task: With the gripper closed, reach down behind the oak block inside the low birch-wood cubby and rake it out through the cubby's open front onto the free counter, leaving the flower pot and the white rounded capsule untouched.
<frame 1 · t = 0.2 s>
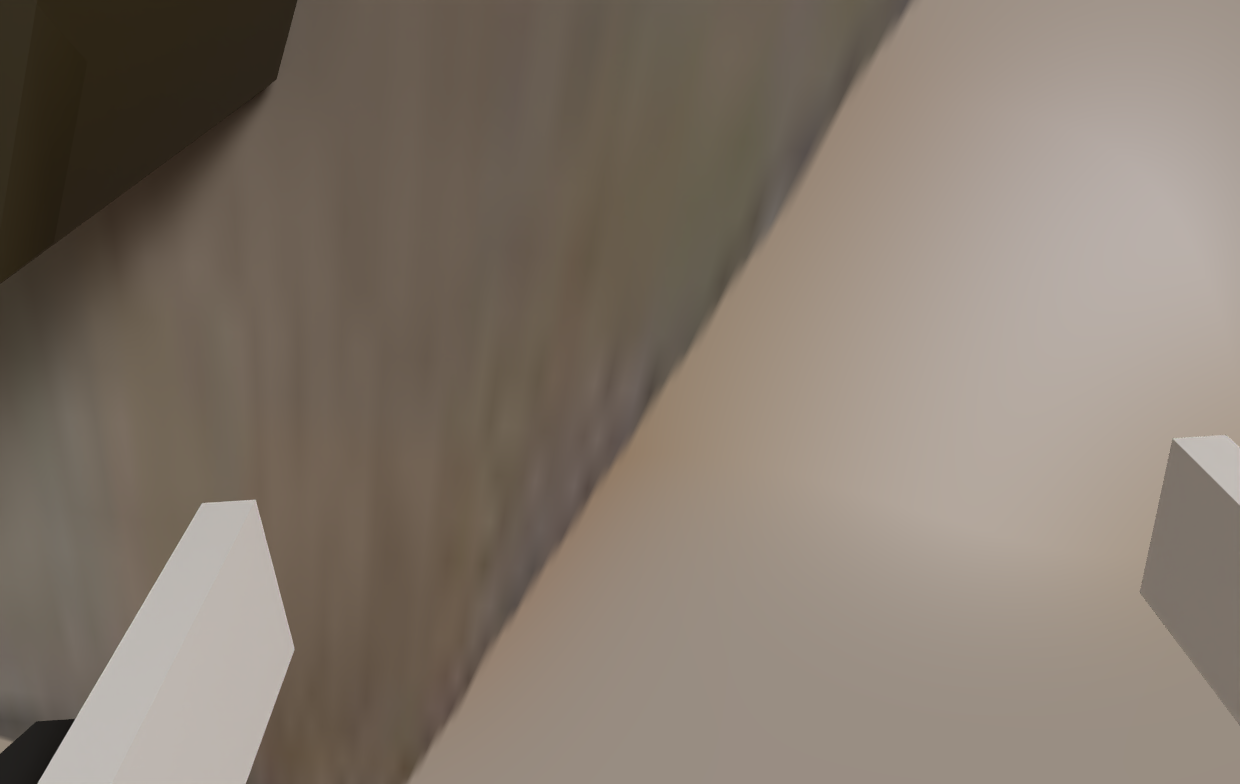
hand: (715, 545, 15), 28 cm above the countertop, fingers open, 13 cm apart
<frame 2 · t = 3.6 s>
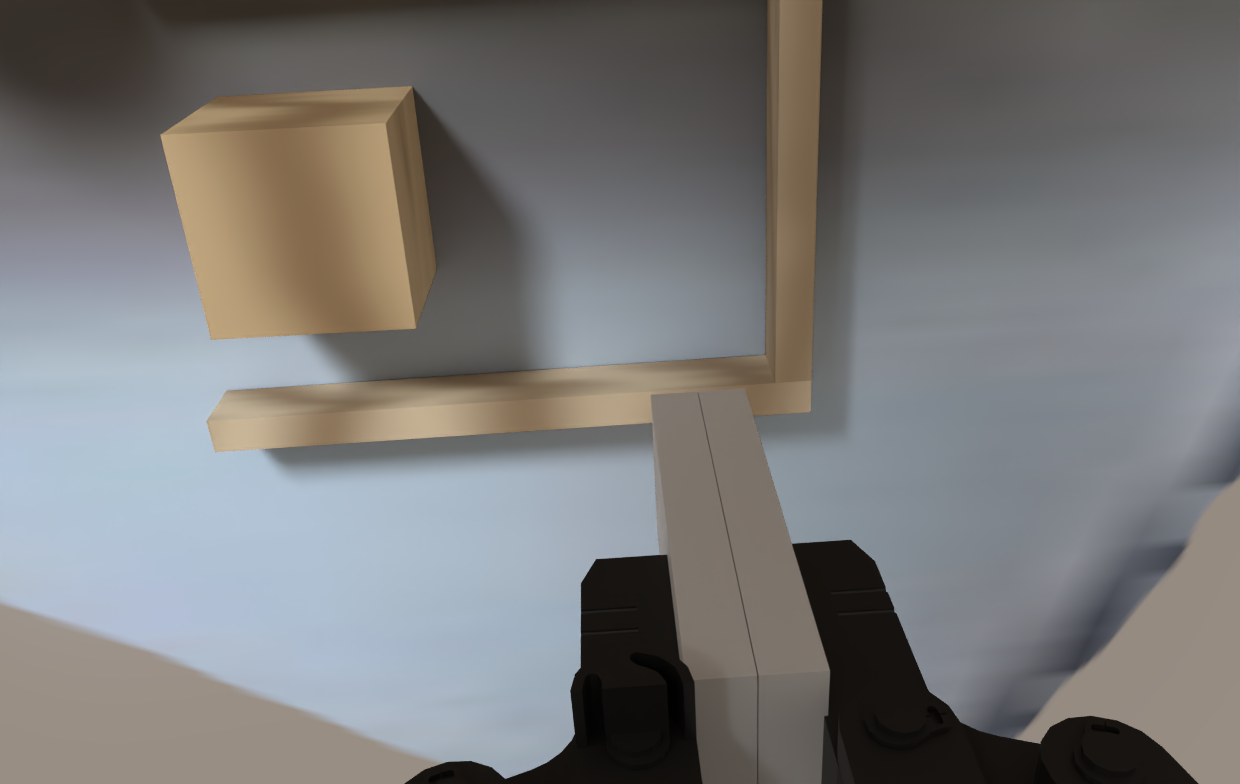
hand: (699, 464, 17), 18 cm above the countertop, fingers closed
oak block: (332, 185, 34), on the countertop
cubby: (471, 177, 34), on the countertop
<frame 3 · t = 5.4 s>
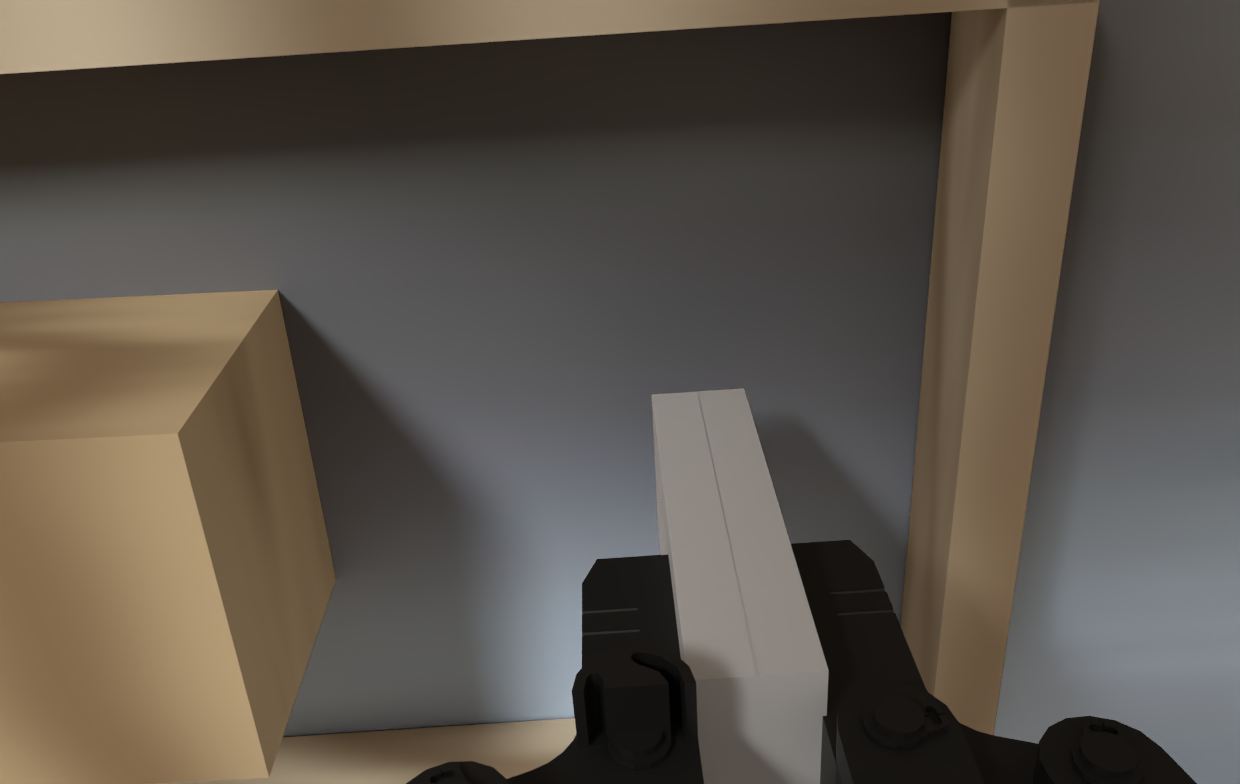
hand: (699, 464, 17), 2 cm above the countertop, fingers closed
oak block: (144, 449, 19), on the countertop
cubby: (391, 438, 19), on the countertop
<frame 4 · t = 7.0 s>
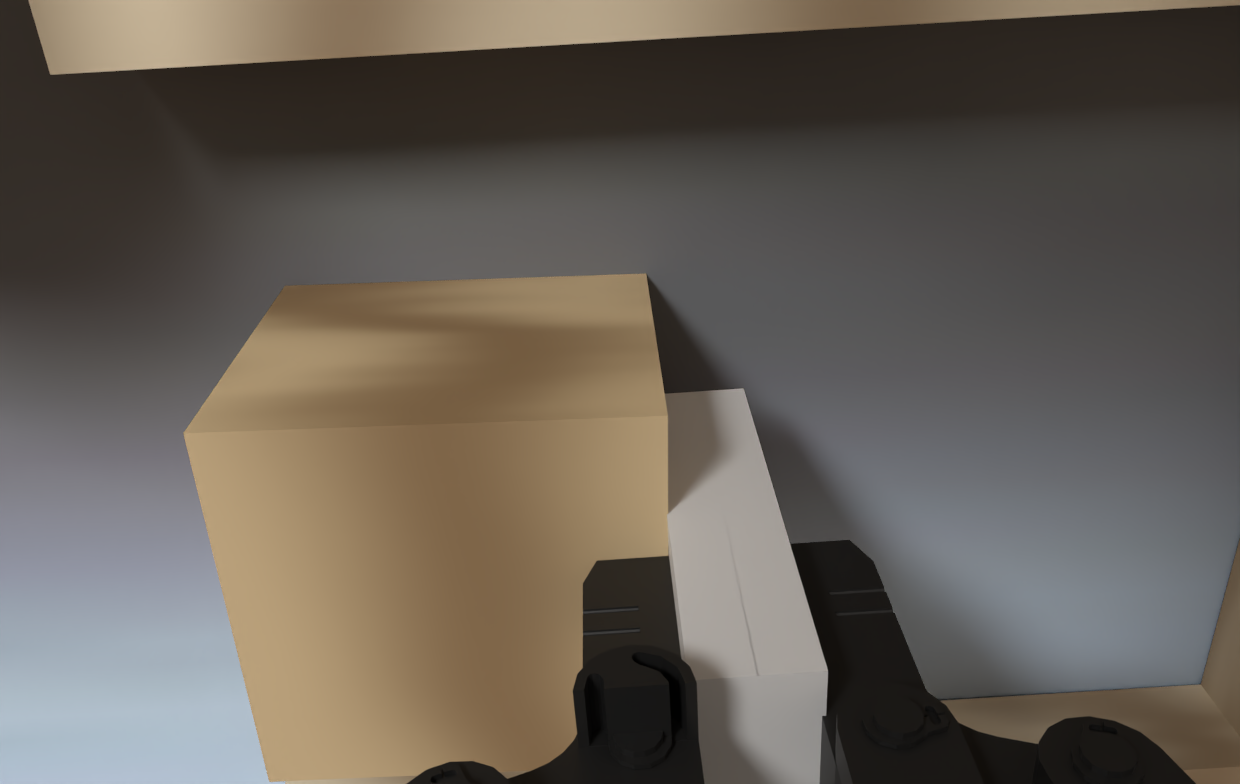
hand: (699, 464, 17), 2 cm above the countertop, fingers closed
oak block: (481, 435, 19), on the countertop, touching gripper
cubby: (753, 421, 19), on the countertop
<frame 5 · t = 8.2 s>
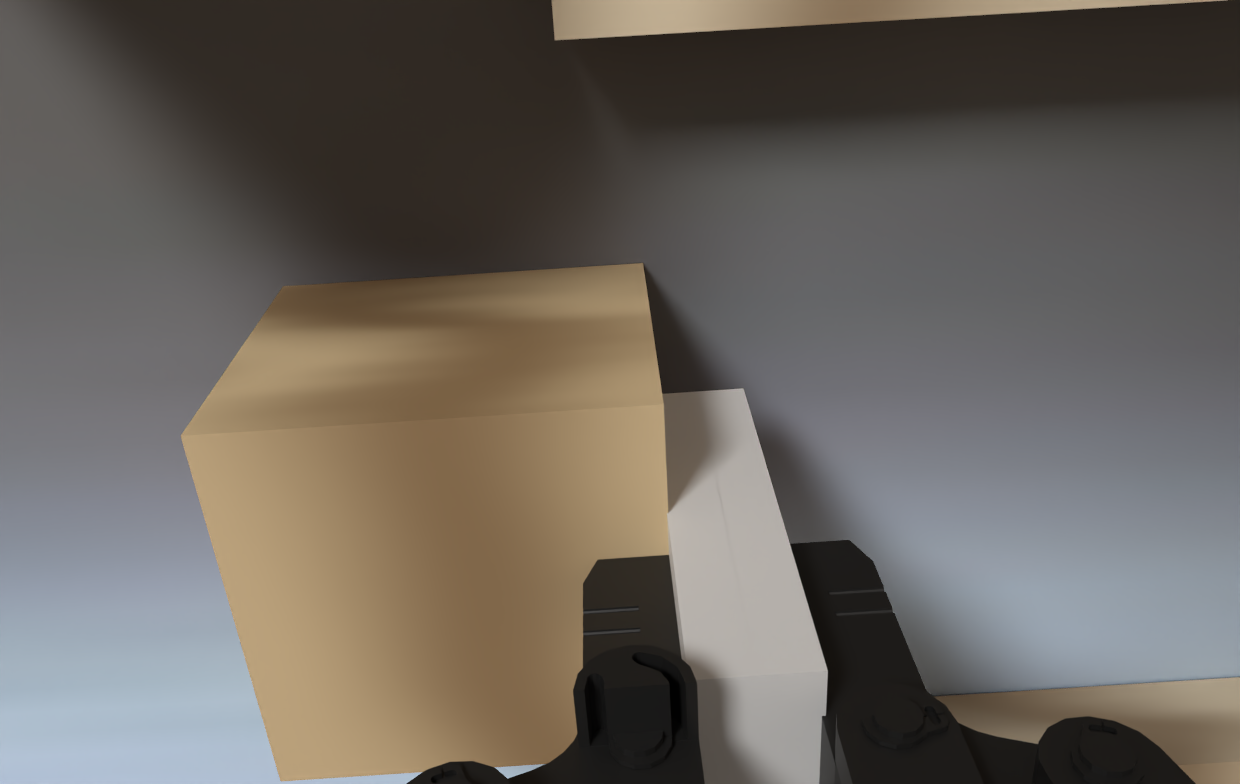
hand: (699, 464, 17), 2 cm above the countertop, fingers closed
oak block: (484, 431, 19), on the countertop, touching gripper
cubby: (1115, 394, 19), on the countertop
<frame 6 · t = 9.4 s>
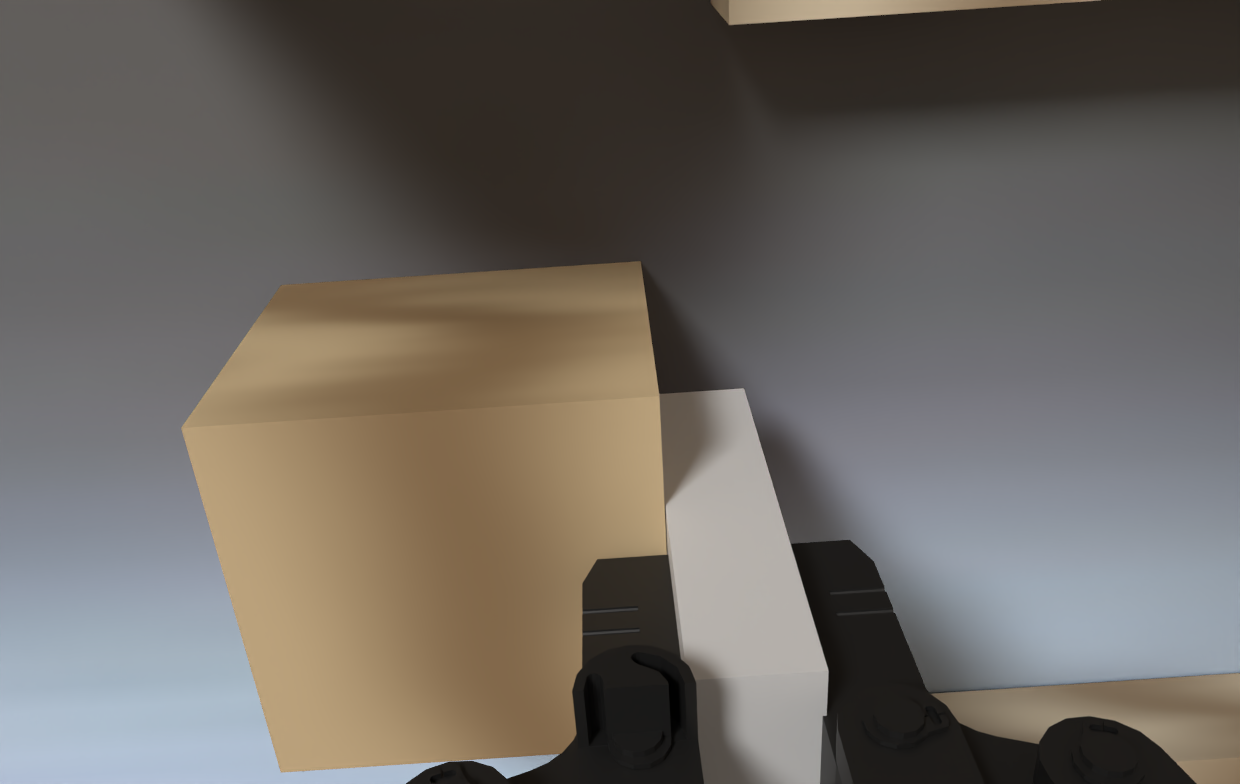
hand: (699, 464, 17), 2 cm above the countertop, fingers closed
oak block: (483, 426, 19), on the countertop
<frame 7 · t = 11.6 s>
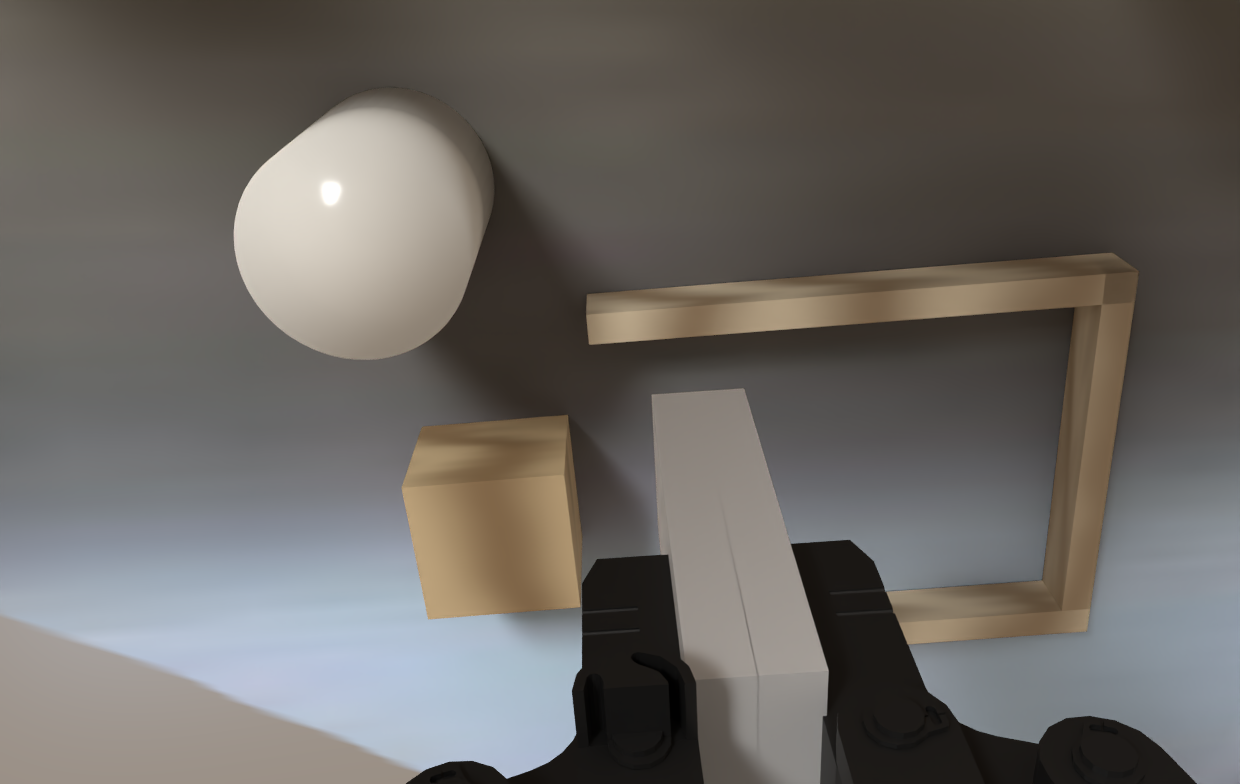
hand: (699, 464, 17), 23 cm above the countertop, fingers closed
oak block: (504, 482, 44), on the countertop
white rounded capsule: (399, 185, 38), on the countertop
cubby: (830, 459, 44), on the countertop
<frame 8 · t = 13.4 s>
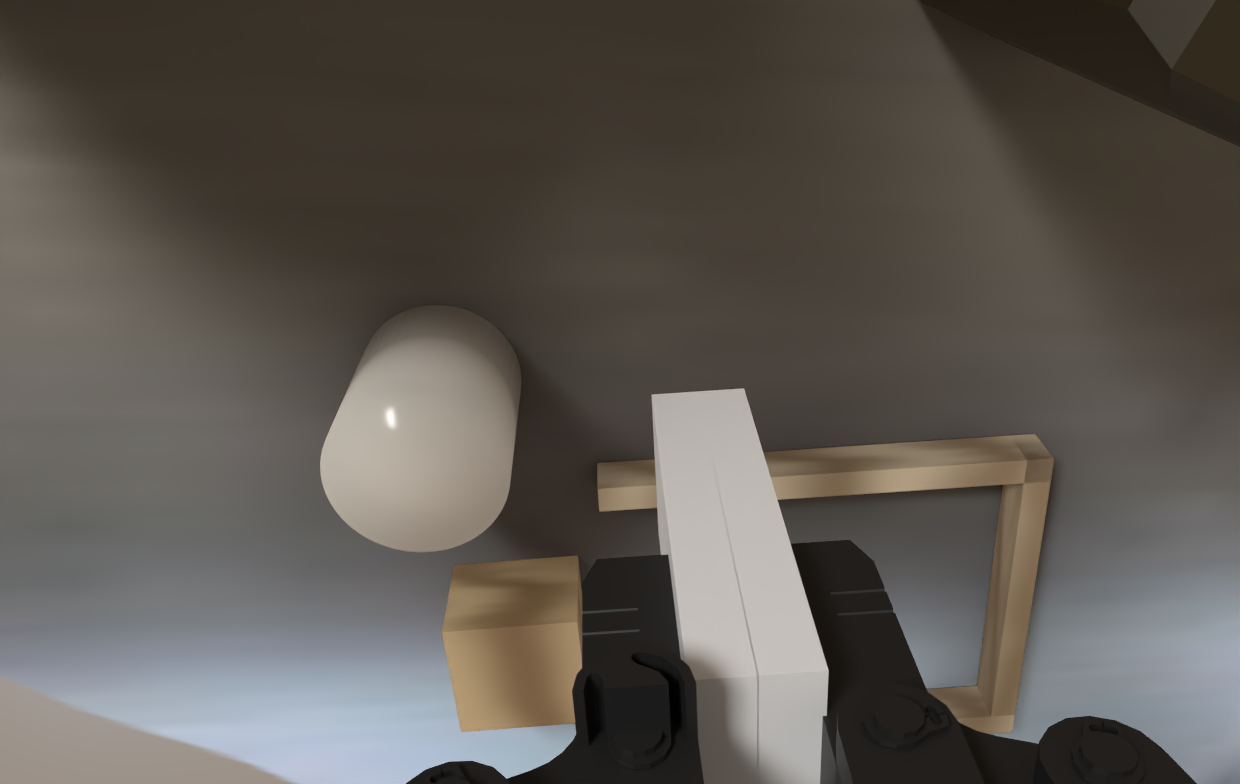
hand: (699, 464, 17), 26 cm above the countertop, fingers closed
oak block: (523, 607, 52), on the countertop
white rounded capsule: (441, 378, 46), on the countertop
cubby: (799, 591, 52), on the countertop
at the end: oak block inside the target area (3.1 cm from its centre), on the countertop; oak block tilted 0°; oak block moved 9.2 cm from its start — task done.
